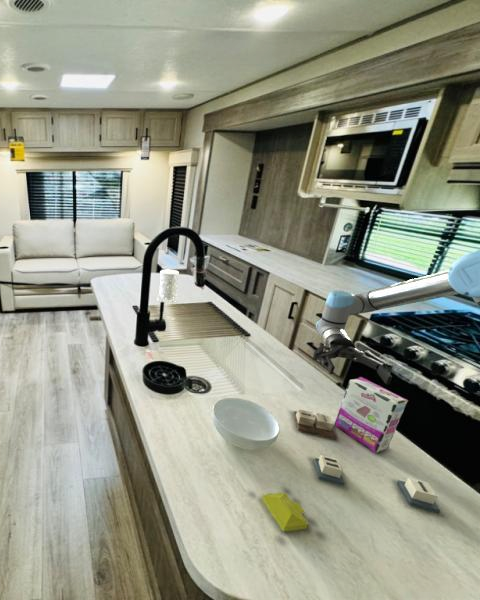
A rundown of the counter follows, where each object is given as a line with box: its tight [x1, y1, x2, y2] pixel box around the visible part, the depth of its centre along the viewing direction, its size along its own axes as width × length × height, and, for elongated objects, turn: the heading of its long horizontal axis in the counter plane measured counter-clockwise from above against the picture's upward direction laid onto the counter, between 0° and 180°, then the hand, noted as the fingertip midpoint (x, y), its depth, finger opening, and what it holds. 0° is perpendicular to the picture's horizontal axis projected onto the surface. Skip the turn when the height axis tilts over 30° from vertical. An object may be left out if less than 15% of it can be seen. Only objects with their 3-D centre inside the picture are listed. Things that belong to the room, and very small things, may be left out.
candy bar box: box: [333, 376, 409, 454], centre depth 86 cm, size 11×5×16 cm, turn 17°
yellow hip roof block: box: [261, 491, 322, 540], centre depth 69 cm, size 10×9×3 cm
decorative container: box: [157, 268, 180, 304], centre depth 189 cm, size 12×12×18 cm
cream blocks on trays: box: [312, 454, 441, 514], centre depth 75 cm, size 22×6×4 cm, turn 66°
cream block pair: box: [292, 408, 337, 441], centre depth 92 cm, size 9×8×4 cm
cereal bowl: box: [211, 397, 281, 451], centre depth 89 cm, size 17×17×7 cm
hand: (359, 375), depth 93 cm, fingers open, 13 cm apart
